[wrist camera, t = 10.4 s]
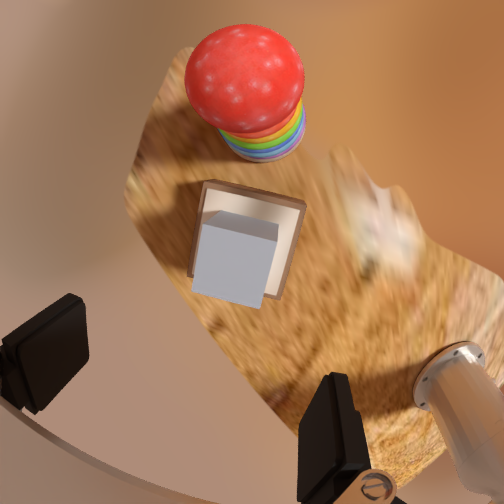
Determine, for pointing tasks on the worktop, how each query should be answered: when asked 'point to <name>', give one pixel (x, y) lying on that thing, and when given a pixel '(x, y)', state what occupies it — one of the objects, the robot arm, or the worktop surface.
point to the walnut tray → (259, 207)
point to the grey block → (235, 258)
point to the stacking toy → (249, 90)
